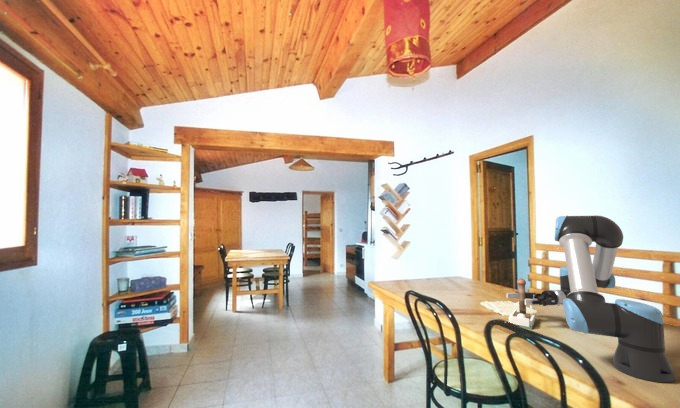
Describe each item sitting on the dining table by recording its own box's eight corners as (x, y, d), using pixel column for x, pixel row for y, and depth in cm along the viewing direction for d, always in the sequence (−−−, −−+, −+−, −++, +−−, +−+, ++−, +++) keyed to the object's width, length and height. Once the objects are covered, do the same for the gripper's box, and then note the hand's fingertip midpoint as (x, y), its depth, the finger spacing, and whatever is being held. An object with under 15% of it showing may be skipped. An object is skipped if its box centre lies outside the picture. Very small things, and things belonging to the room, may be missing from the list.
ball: (526, 321, 154) (525, 323, 151) (517, 319, 156) (516, 321, 153) (526, 313, 154) (525, 315, 151) (517, 312, 157) (516, 313, 154)
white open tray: (531, 329, 145) (531, 319, 146) (508, 325, 151) (507, 316, 152) (536, 319, 161) (535, 310, 161) (514, 315, 167) (514, 307, 167)
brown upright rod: (529, 321, 153) (527, 280, 155) (514, 318, 157) (513, 278, 159) (530, 318, 157) (529, 278, 159) (516, 316, 161) (514, 277, 163)
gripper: (574, 311, 146) (534, 313, 144) (535, 299, 171) (500, 300, 168) (573, 295, 147) (533, 297, 144) (534, 285, 171) (500, 286, 169)
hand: (515, 298), depth 156 cm, fingers open, 13 cm apart
